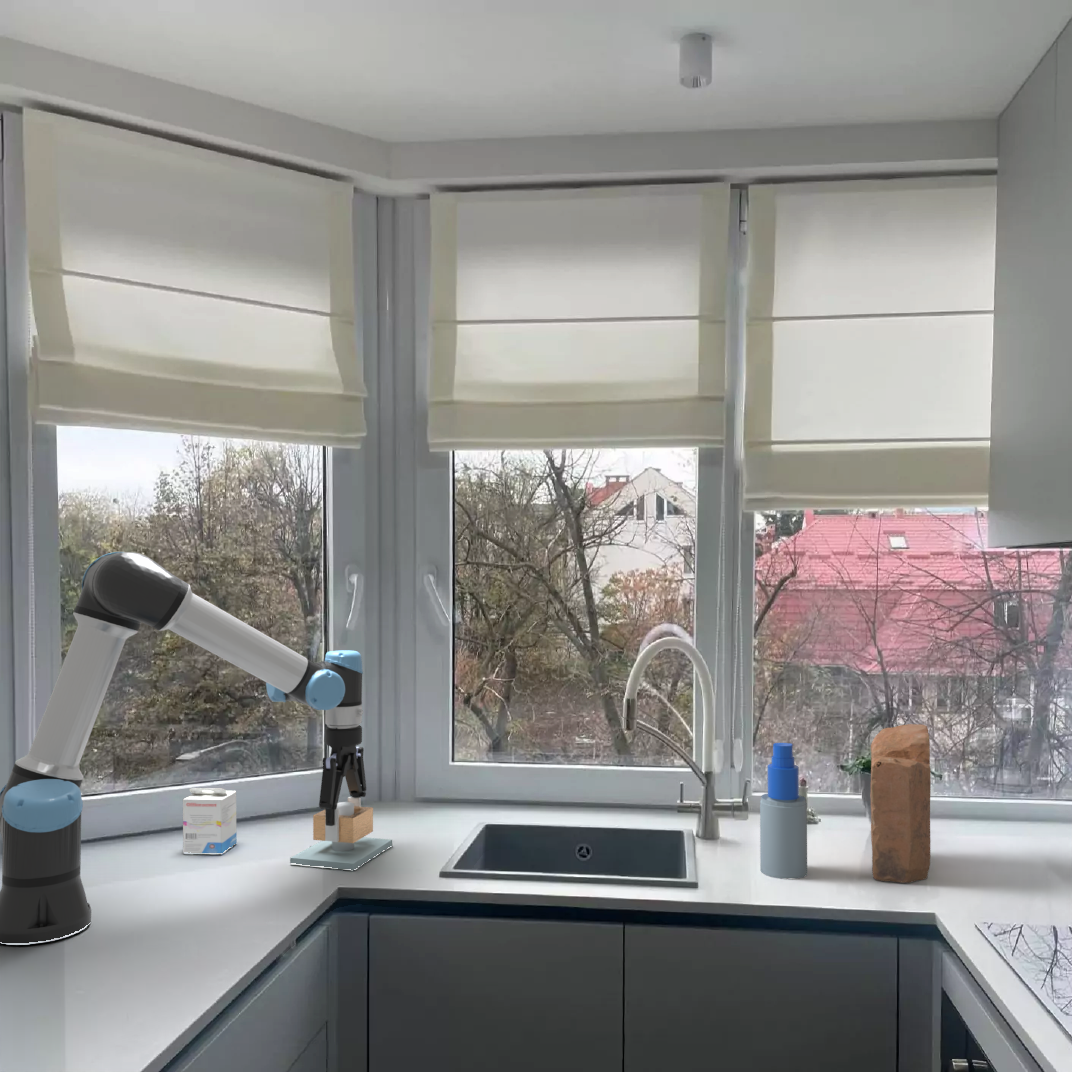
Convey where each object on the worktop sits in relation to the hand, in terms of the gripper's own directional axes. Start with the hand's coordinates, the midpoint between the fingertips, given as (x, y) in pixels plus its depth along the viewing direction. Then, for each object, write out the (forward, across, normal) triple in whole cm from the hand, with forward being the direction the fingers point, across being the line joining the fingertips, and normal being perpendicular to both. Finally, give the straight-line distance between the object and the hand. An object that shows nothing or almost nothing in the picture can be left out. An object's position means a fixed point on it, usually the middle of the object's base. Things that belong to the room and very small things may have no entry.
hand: (343, 834), depth 206 cm
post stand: (+4, 0, 0) cm, 4 cm away
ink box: (+4, -4, +29) cm, 30 cm away
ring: (0, 0, 0) cm, 0 cm away
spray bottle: (+5, +15, -88) cm, 89 cm away
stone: (+5, +24, -110) cm, 113 cm away
